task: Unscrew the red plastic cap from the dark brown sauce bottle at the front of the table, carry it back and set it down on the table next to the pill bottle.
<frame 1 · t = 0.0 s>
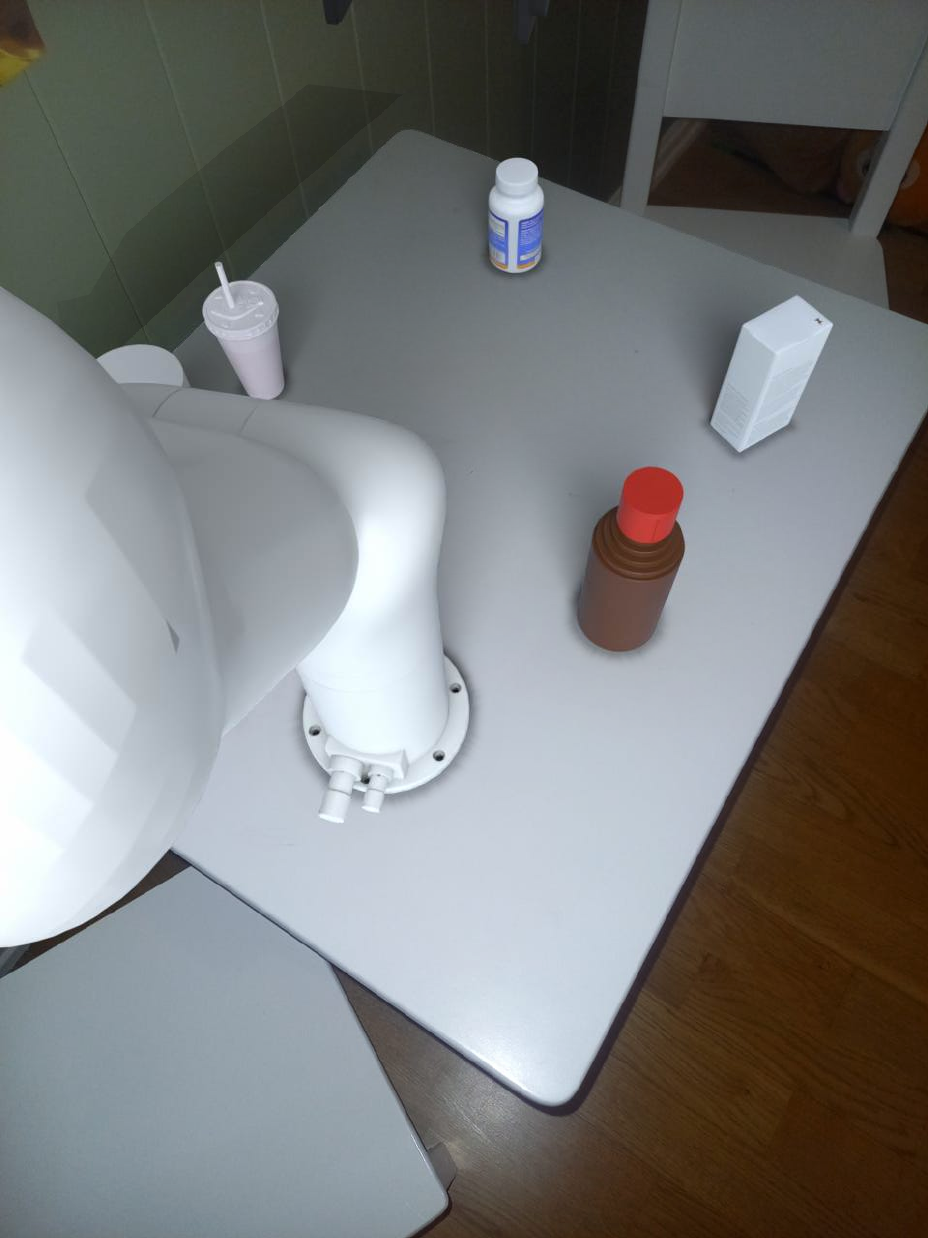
hand: (432, 19, 43), 37 cm above the table, tool pointing down, fingers open, 9 cm apart
cosmetic box: (746, 426, 77), on the table
cap: (652, 493, 54), point 17 cm above the table, screwed on, not yet turned
cup: (180, 479, 76), on the table
smoothie: (265, 387, 81), on the table
sauce bottle: (616, 616, 68), on the table
pill bottle: (514, 258, 88), on the table
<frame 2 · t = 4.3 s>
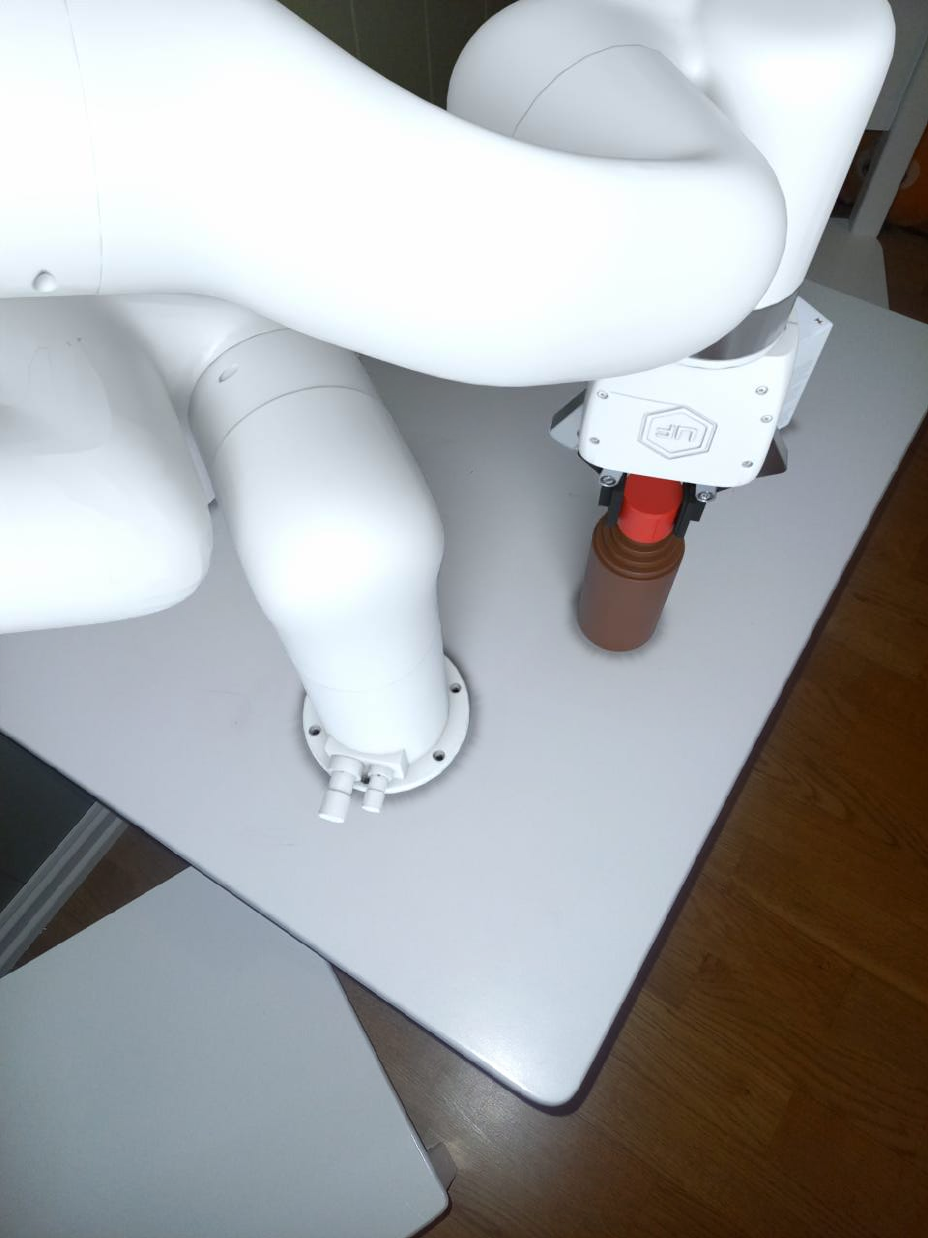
hand: (647, 512, 55), 14 cm above the table, tool pointing down, fingers closed on cap, 3 cm apart
cap: (652, 493, 54), point 17 cm above the table, screwed on, not yet turned, touching gripper
everything else where it was.
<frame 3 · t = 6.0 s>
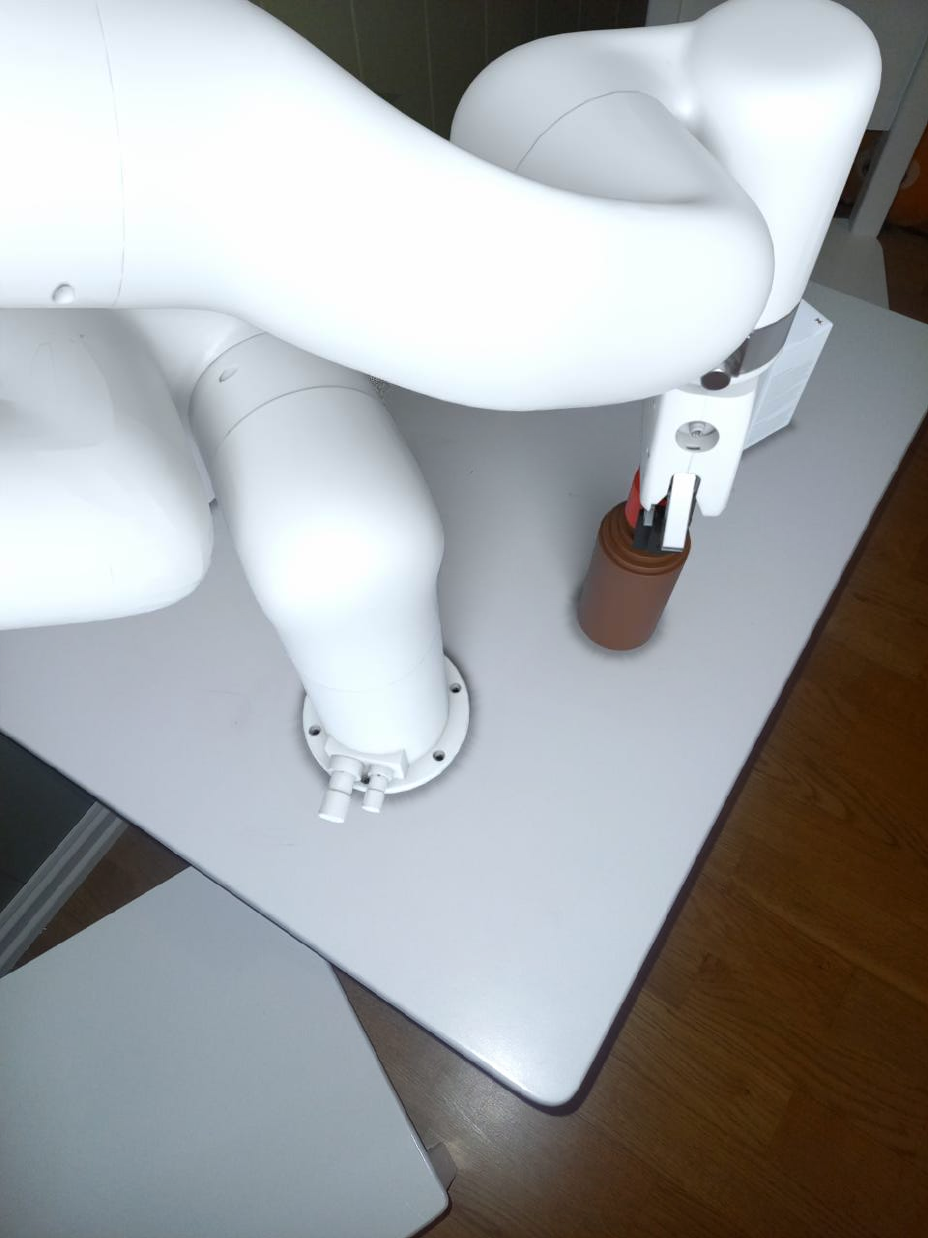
hand: (657, 517, 57), 13 cm above the table, tool pointing down, fingers closed on cap, 3 cm apart
cap: (663, 486, 54), point 17 cm above the table, turned 96° so far, risen 0.1 cm, still on its thread, touching gripper
sauce bottle: (617, 615, 68), on the table, touching gripper
everything else where it was.
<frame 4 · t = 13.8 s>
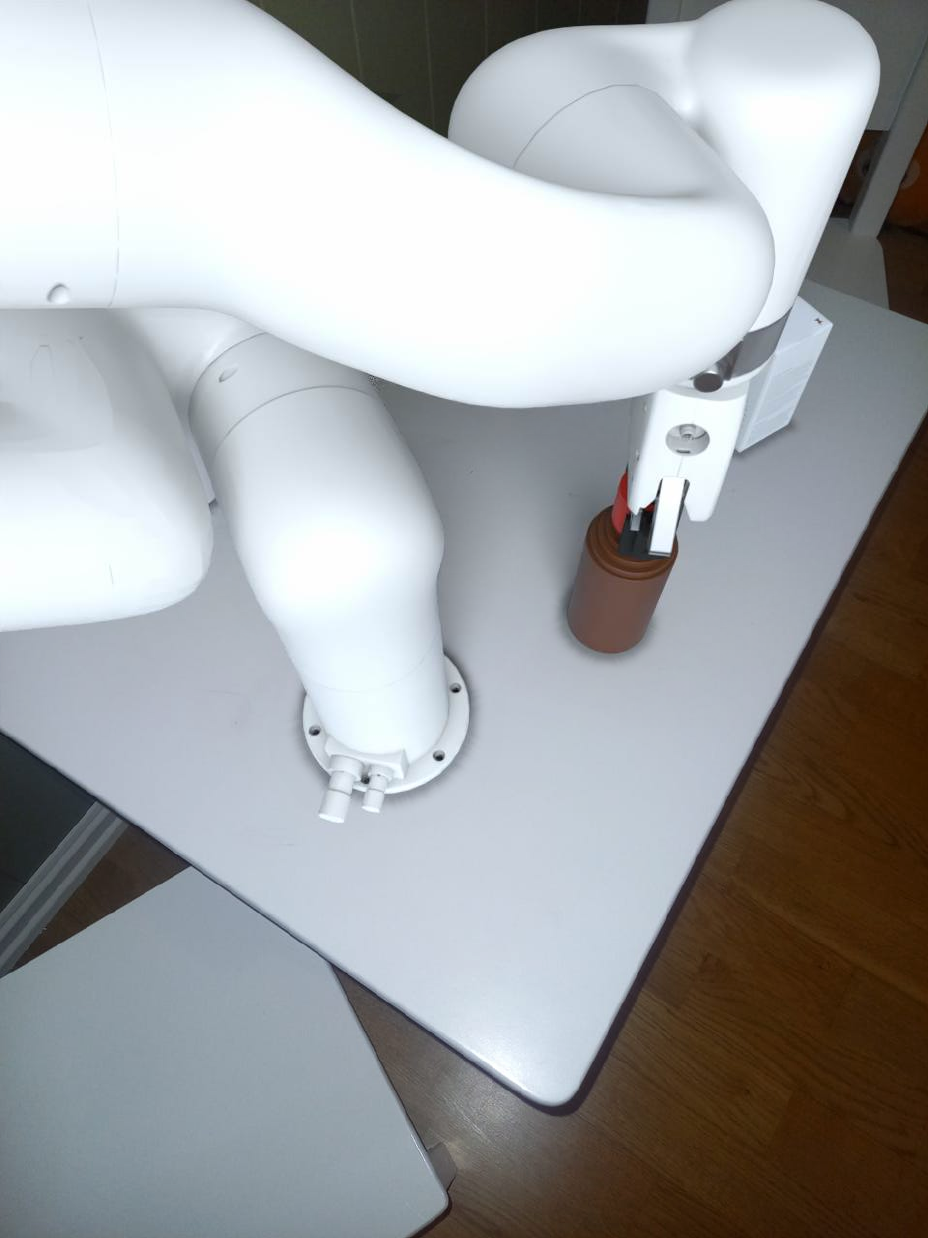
hand: (643, 523, 57), 13 cm above the table, tool pointing down, fingers closed on cap, 3 cm apart
cap: (648, 491, 53), point 17 cm above the table, turned 96° so far, risen 0.1 cm, still on its thread, touching gripper
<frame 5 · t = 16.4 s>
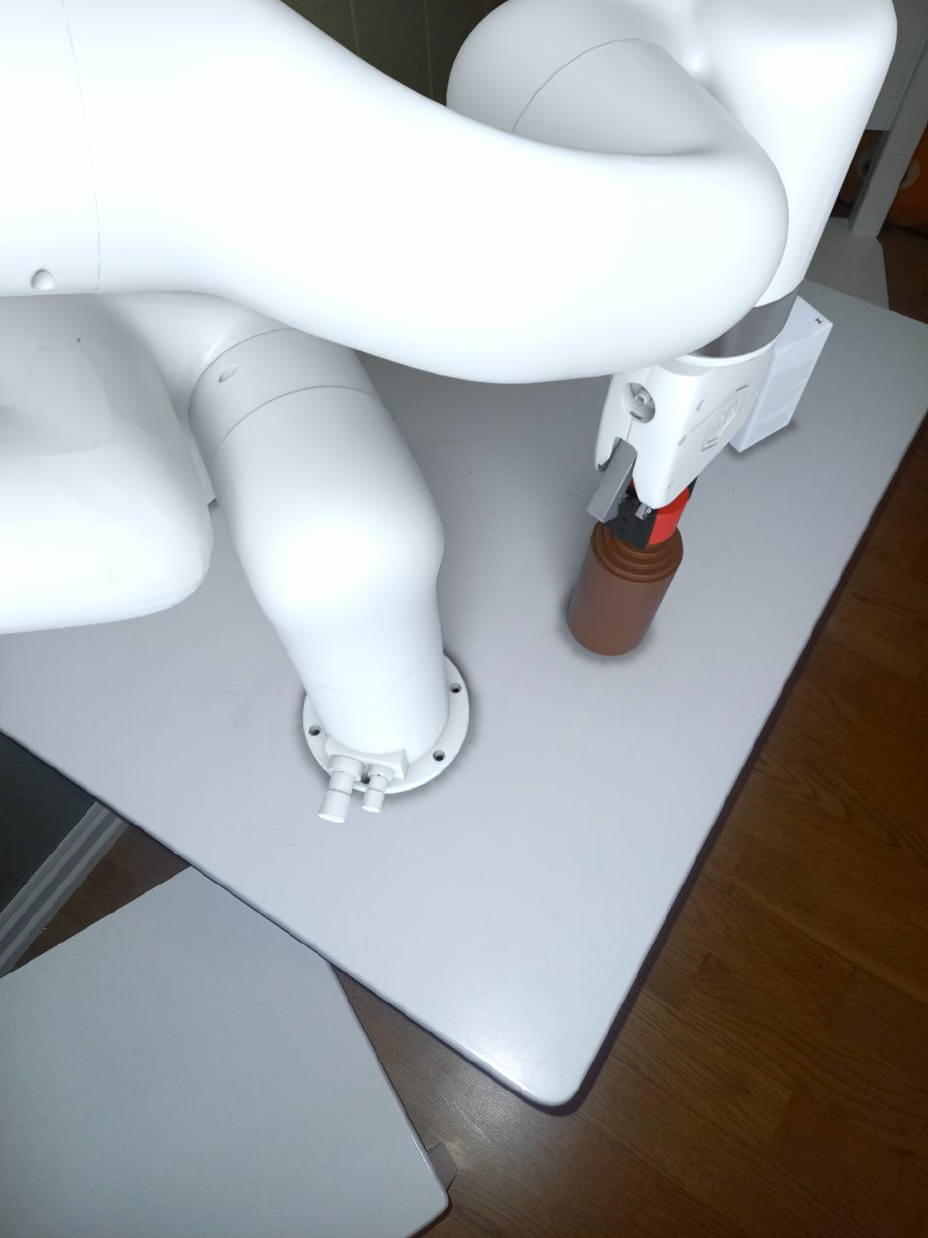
hand: (646, 511, 55), 15 cm above the table, tool pointing down, fingers closed on cap, 3 cm apart
cap: (657, 493, 53), point 17 cm above the table, turned 154° so far, risen 0.1 cm, still on its thread, touching gripper
sauce bottle: (606, 620, 68), on the table
everything else where it was.
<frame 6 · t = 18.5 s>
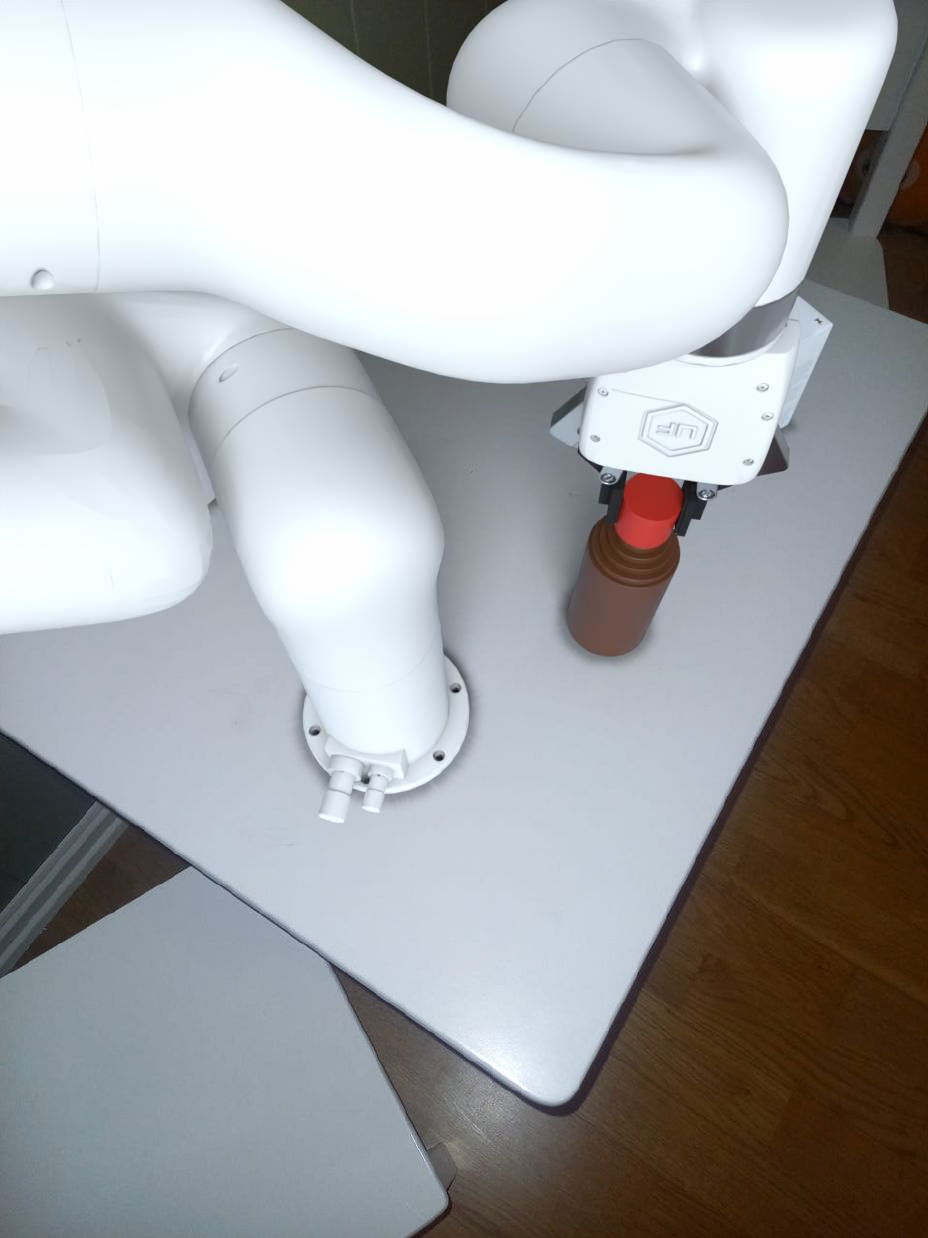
hand: (647, 510, 55), 15 cm above the table, tool pointing down, fingers closed on cap, 3 cm apart
cap: (652, 498, 53), point 17 cm above the table, turned 189° so far, risen 0.2 cm, still on its thread, touching gripper
everything else where it was.
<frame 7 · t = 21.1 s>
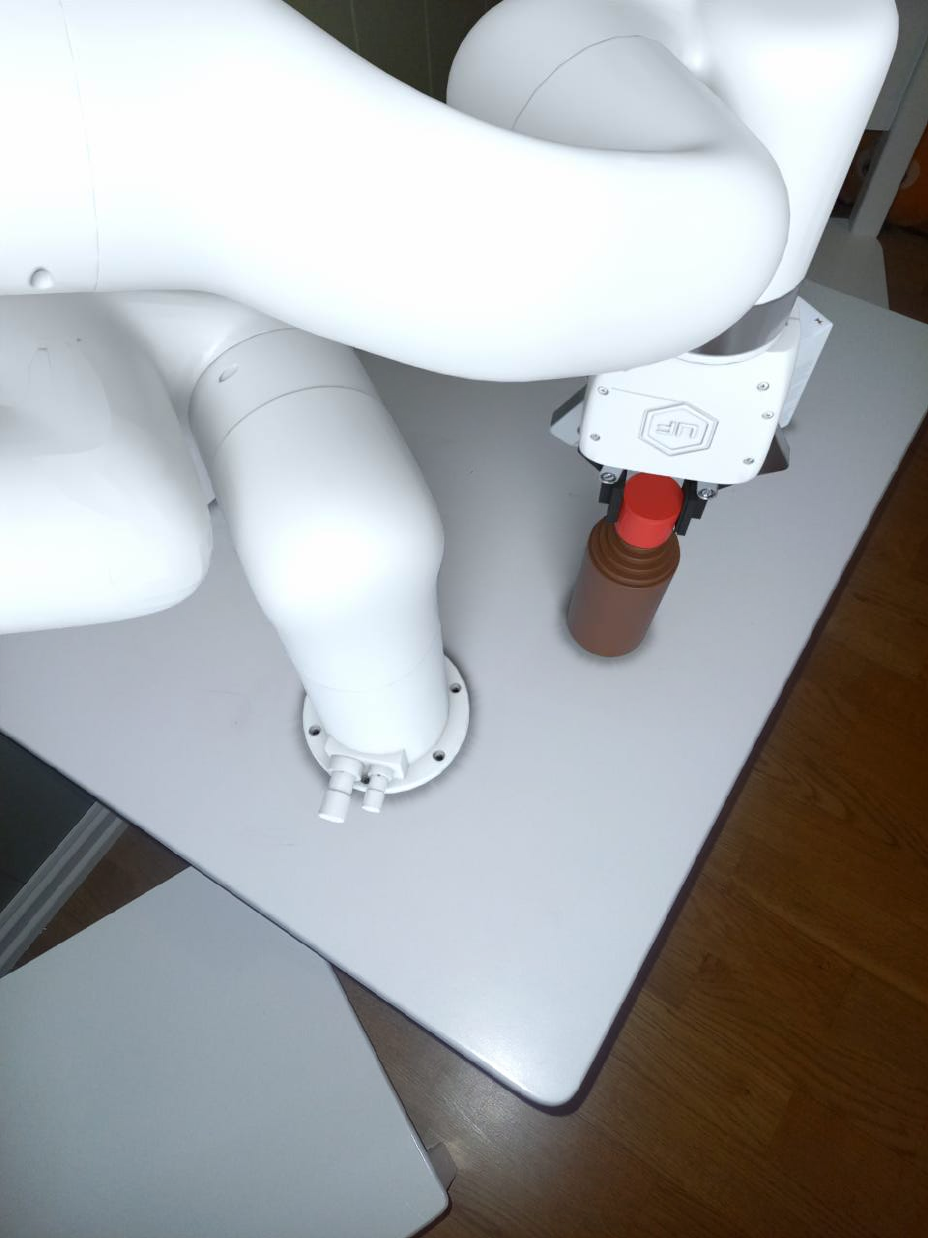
hand: (647, 510, 55), 15 cm above the table, tool pointing down, fingers closed on cap, 3 cm apart
cap: (652, 498, 53), point 17 cm above the table, turned 287° so far, risen 0.3 cm, still on its thread, touching gripper
everything else where it was.
when the fingers open (1 cm above the table, at t = 32.8 s): cap stays where it is, point 3 cm above the table.
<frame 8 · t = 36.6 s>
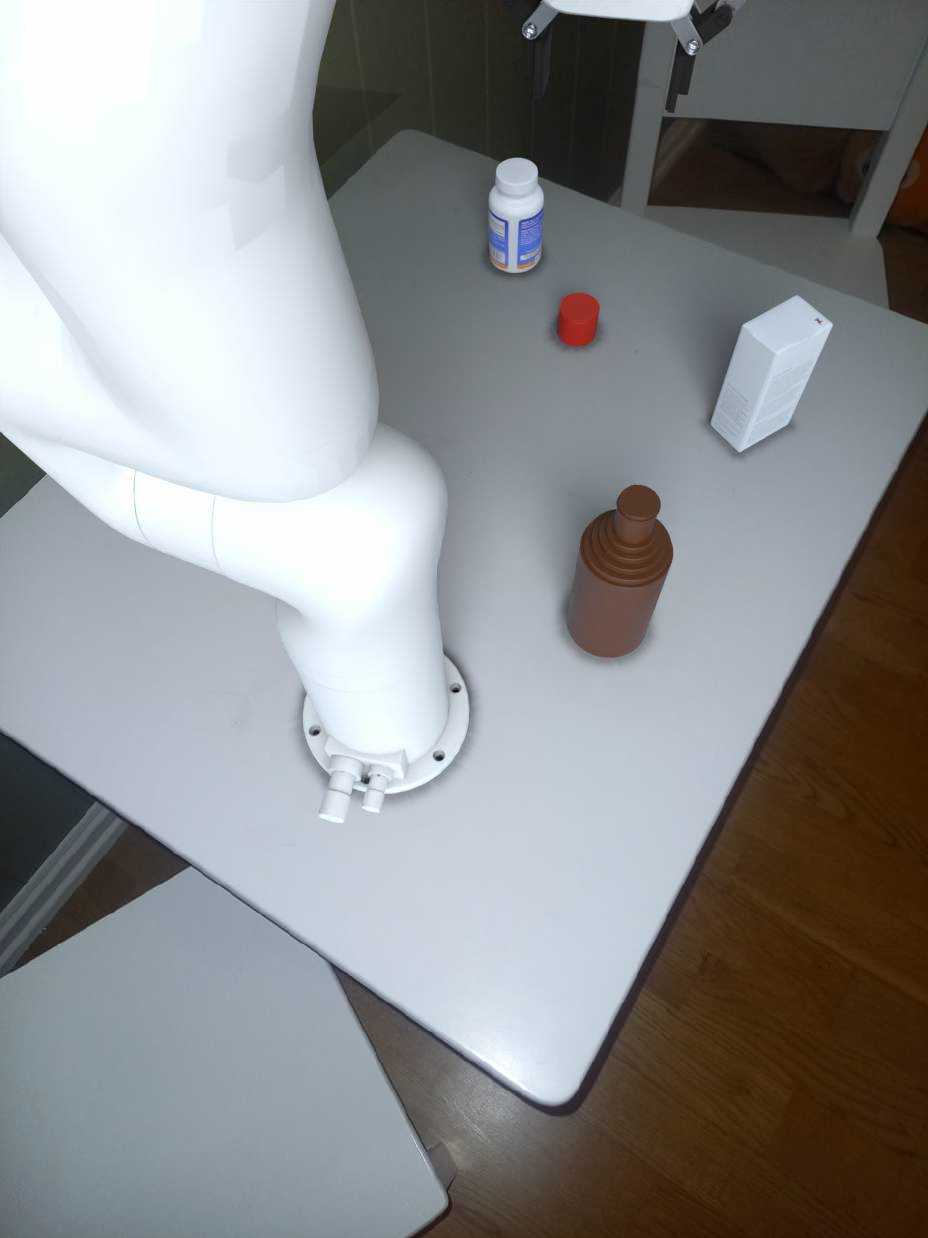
hand: (605, 94, 62), 23 cm above the table, tool pointing down, fingers open, 9 cm apart
cap: (579, 308, 80), point 3 cm above the table, off its thread
everything else where it was.
at the end: cap came off its thread; cap point 2.9 cm above the table; the gripper is holding nothing; cap 12.4 cm from the pill bottle (horizontally) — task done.
